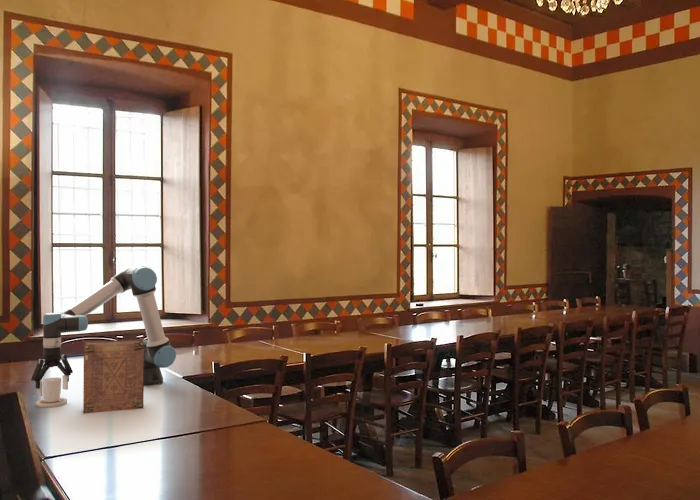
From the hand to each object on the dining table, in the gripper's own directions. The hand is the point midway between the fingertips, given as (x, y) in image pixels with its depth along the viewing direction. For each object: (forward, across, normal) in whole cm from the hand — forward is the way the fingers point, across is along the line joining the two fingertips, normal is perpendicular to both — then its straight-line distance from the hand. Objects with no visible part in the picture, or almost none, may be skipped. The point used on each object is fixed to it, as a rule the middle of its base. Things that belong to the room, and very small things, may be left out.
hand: (52, 392), depth 293 cm
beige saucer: (+5, 0, 0) cm, 5 cm away
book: (+6, +7, -31) cm, 33 cm away
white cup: (+4, 0, 0) cm, 4 cm away
